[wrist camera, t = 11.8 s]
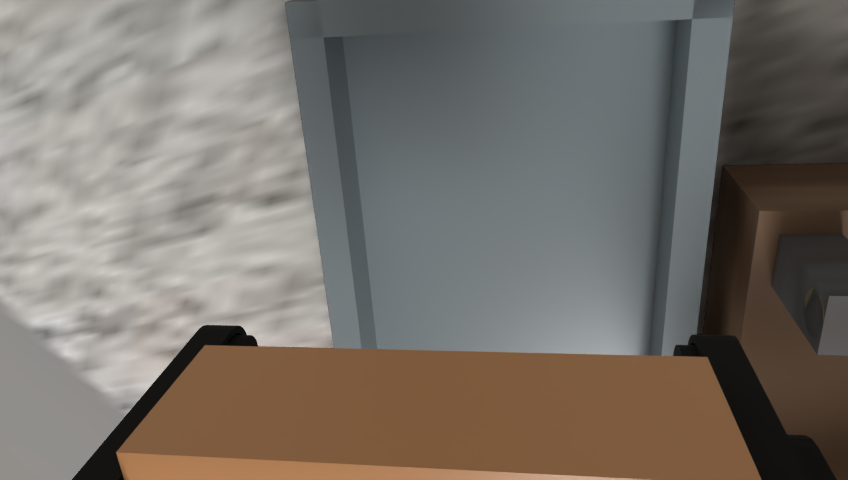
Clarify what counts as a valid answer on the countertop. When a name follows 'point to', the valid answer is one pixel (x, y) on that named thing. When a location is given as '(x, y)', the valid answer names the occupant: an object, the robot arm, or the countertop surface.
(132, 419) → the robot arm
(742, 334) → the dispenser
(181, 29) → the countertop surface
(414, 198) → the tray
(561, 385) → the orange rectangular block
